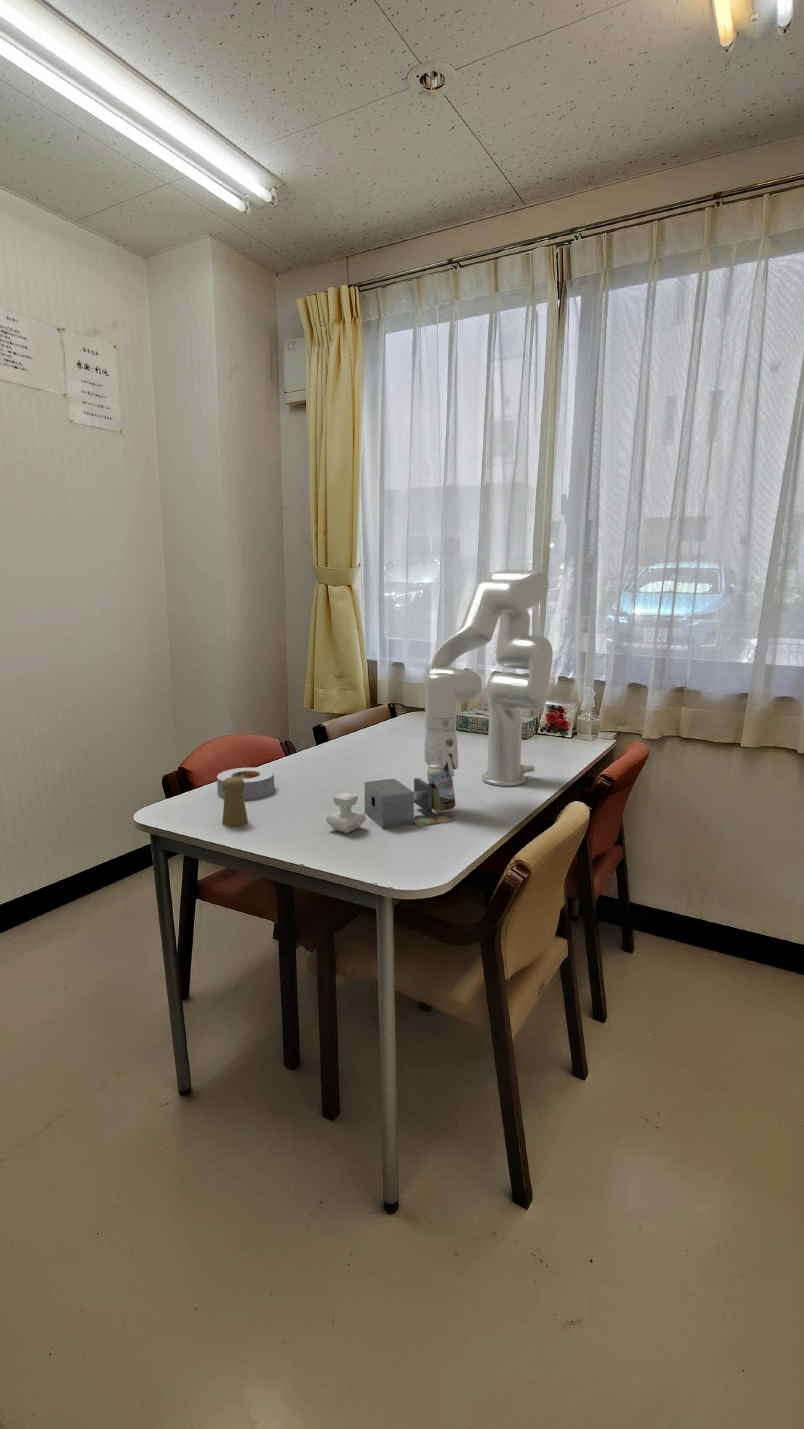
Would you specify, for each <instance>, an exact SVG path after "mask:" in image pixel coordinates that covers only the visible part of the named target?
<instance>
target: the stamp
mask: <svg viewBox="0 0 804 1429" xmlns="http://www.w3.org/2000/svg"><path fill="white" fill-rule="evenodd" d="M358 800H359V798H358V794H352V793H347V792H342V793H340V794H338V795H335V796H333V797H332V802H333V803H334V805H335V806H337V807H339V808H340V810H338V811H335V812H332V813H331V814H328V815H327V816H326V819H325V822H327V824H328V825H329V826H330V827H331V828H332V830H336V831H339V832H341V833H345V834H348V833H351V832H353V831H355V830H357V829H360V827H361V826H362V824H363V823H364V822H365V821H366V819H367V818H366V814H365V813H362V812H358V811H355V810H352V807H353V806H355V805H356V804H357V802H358Z"/></svg>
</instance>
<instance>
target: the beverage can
mask: <svg viewBox="0 0 804 1429" xmlns="http://www.w3.org/2000/svg"><path fill="white" fill-rule="evenodd" d="M446 772H447V769H446V765H445V766H444V770H443V771H442V770H440V768H439V767H438V766H434V765H429V766H428V768H427V770H426V774H427V775H426V776H427V784H429V785H430V786H432V811H434V812H436V813H437V812H438V813H446V812H449V811H453V809H454V808H455V807H456V798H455V797H456V796H455V789H454V781H453V780H454V779H453V776H452V777H447V776H446Z"/></svg>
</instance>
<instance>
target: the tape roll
mask: <svg viewBox="0 0 804 1429" xmlns="http://www.w3.org/2000/svg"><path fill="white" fill-rule="evenodd" d="M230 777H239V778H242V779H243V781H244V790H243V791H242V792H243V797H244V801H249V800H257V799H261V798H265V797H268V796H271V795H272V794H273V793H274V792H275V774H274V772H273V770H271V769H268V768H264V767H240V768H232V769H231V768H230V769H228V770H224V771H222V772H220V773H219V774H218V775H217V776H216V785H217V786H216V787H217V796H219V797H220V798H222V799H224V797H225V792H224V791H223V789H222V783H223V781H224V780H225V779H227V778H230Z"/></svg>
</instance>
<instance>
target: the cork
mask: <svg viewBox="0 0 804 1429" xmlns="http://www.w3.org/2000/svg"><path fill="white" fill-rule="evenodd" d="M222 789H223V791H224V792H225V797H224V798H223V808H222V809H223V810H222V825H223V826H224V825H226V826H225V827H228V826H229V828H230V827H231V828H233V827H234V826H236V827H242V826H244V824H245V825H246V824H248V823H249V819H248V814H247V810H246V809H247V808H246V803H245V800H244V797H243V792H242V791H243V790H244V781H243V779H242V778H239V777H230V778H227V779H225V780H224V781H223V783H222ZM236 827H234V828H236Z"/></svg>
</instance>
